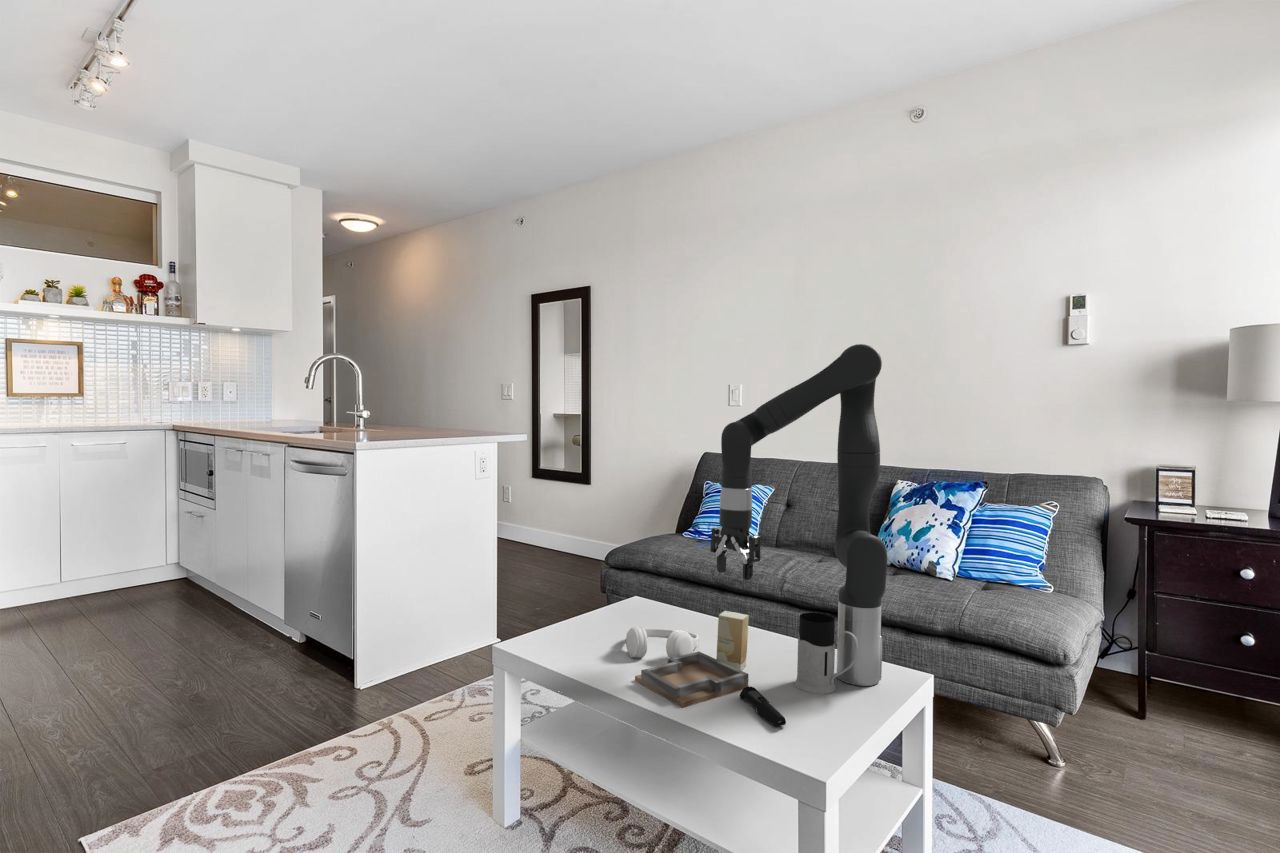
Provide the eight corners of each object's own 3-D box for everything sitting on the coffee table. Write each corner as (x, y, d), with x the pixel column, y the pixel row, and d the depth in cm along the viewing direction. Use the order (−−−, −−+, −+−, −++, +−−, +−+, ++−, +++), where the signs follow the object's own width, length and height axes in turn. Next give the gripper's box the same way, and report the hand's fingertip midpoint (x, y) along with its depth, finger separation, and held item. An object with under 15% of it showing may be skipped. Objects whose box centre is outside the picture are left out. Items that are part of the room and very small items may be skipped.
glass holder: (809, 674, 153) (811, 609, 153) (866, 694, 142) (868, 624, 142) (786, 684, 147) (788, 616, 147) (844, 705, 137) (846, 632, 136)
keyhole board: (698, 663, 158) (698, 651, 158) (748, 687, 145) (748, 673, 145) (635, 680, 147) (635, 666, 147) (682, 707, 134) (682, 692, 134)
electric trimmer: (772, 734, 125) (772, 717, 125) (737, 698, 140) (738, 683, 140) (790, 732, 126) (791, 715, 126) (754, 697, 141) (755, 682, 141)
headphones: (695, 634, 157) (701, 622, 176) (618, 628, 160) (632, 617, 179) (694, 665, 156) (700, 650, 175) (617, 659, 159) (631, 644, 178)
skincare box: (715, 666, 157) (716, 614, 157) (722, 660, 161) (723, 610, 160) (741, 671, 154) (743, 618, 154) (747, 665, 158) (749, 614, 157)
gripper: (769, 509, 153) (767, 580, 153) (726, 502, 165) (724, 568, 165) (746, 511, 149) (744, 584, 149) (703, 504, 160) (701, 571, 160)
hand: (734, 575), depth 157 cm, fingers open, 8 cm apart
